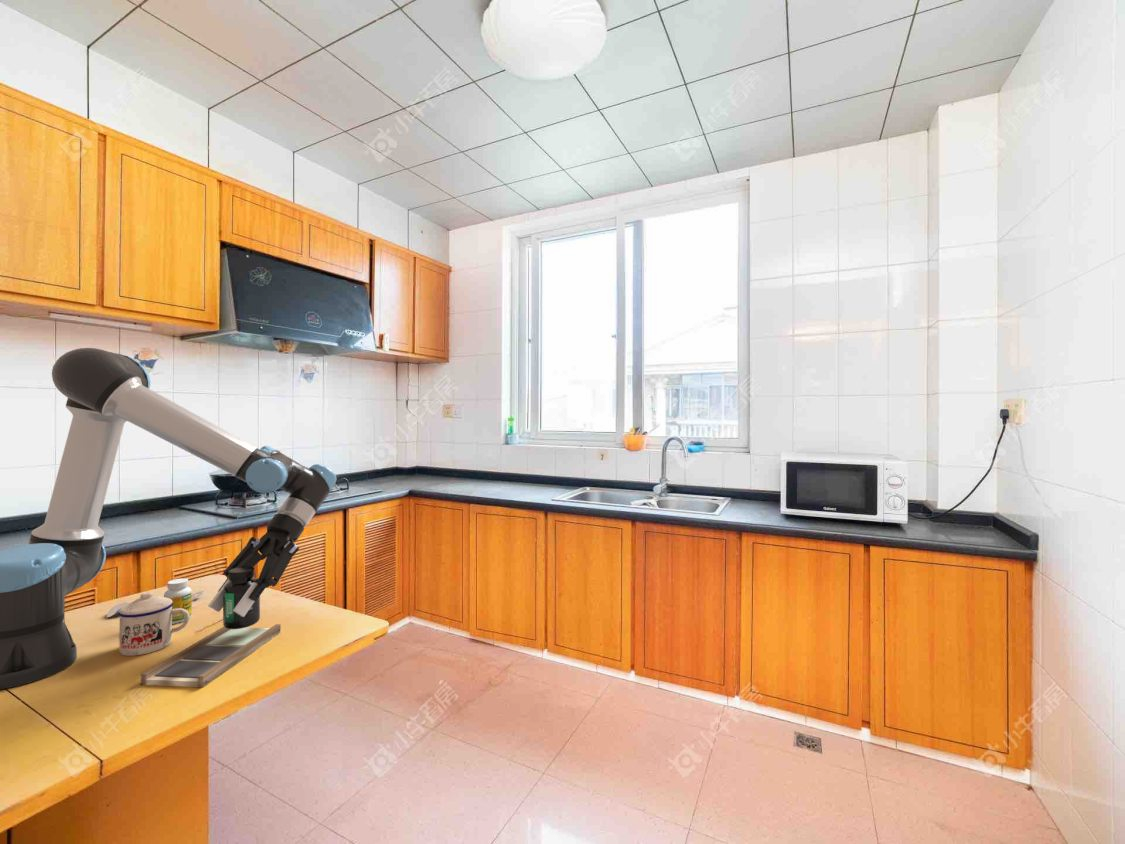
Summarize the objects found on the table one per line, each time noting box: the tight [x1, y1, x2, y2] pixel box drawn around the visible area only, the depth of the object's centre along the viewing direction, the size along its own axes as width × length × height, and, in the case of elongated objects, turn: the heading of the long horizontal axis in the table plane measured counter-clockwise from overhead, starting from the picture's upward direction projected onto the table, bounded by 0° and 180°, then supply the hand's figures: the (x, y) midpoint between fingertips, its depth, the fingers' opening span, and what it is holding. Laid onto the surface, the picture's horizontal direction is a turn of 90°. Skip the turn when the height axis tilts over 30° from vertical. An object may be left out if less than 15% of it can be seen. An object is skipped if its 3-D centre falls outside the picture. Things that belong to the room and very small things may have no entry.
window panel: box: [140, 623, 281, 688], centre depth 103 cm, size 12×23×2 cm, turn 177°
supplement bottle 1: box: [163, 578, 193, 625], centre depth 121 cm, size 5×5×10 cm
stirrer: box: [106, 590, 205, 618], centre depth 129 cm, size 20×4×5 cm
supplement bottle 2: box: [222, 566, 261, 629], centre depth 110 cm, size 7×7×12 cm
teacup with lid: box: [117, 591, 190, 657], centre depth 107 cm, size 12×9×12 cm
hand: (226, 611), depth 106 cm, fingers closed on supplement bottle 2, 7 cm apart
